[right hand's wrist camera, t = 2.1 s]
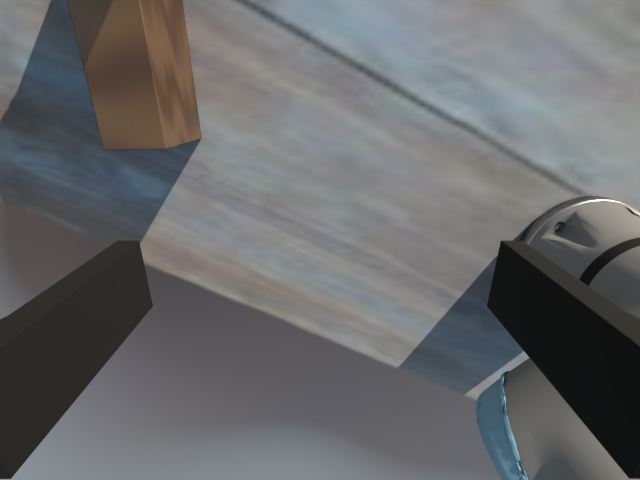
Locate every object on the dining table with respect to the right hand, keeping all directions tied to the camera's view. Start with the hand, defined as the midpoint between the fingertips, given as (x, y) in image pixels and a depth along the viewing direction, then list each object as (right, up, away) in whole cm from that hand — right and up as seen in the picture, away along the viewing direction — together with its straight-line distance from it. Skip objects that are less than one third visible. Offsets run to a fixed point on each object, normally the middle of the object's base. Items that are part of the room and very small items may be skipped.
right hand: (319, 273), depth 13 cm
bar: (-16, +23, +21) cm, 36 cm away
